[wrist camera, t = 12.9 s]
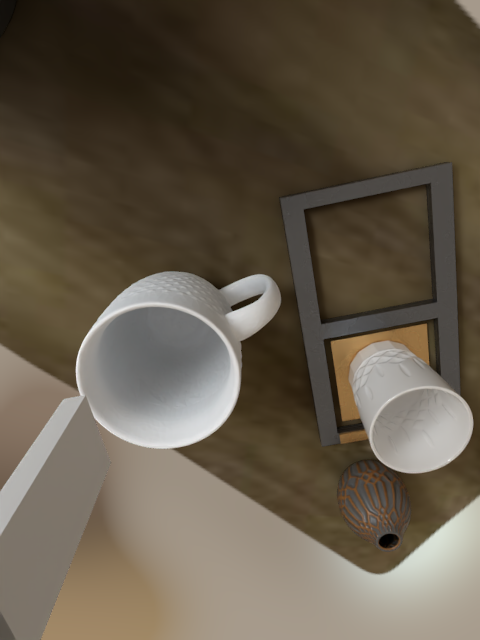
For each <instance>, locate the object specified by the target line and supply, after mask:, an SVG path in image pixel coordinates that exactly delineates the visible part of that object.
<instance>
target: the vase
mask: <svg viewBox="0 0 480 640" xmlns="http://www.w3.org/2000/svg"><path fill="white" fill-rule="evenodd" d="M337 498H338V504H339V508H340V511H341V514H342V516H343V518H344V520H345V522H346V523H347V525H348V526H349V527H350V529H351V530H352V531H353V532H354V533H355V534H356V535H358V536H359V537H361V538H362V539H364V540H366V541H368V542H370V543H373V544H374V545H375V546H376V547H377V548H378V549H380V550H382V551H386V552H389V551H394V550H396V549H398V548H399V547H400V546H401V544H402V541H403V534H404V533H405V531H406V529H407V527H408V525H409V522H410V518H411V502H410V497H409V494H408V491H407V489H406V487H405V485H404V483H403V481H402V480H401V478H400V477H399V476H398V475H397V473H396V472H395V471H394V470H392V469H391V468H389V467H388V466H386V465H385V464H383V463H381V462H378V461H374V460H363V461H359V462H356V463H354V464H352V465H351V466H349V467H348V468H347V469H346V470H345V471H344V473H343V474H342V476H341V478H340V480H339V483H338V489H337Z"/></svg>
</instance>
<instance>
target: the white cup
mask: <svg viewBox="0 0 480 640" xmlns="http://www.w3.org/2000/svg"><path fill="white" fill-rule="evenodd" d="M348 380H349V382H350V385H351V387H352V390H353V394H354V400H355V403H356V406H357V409H358V412H359V415H360V418H361V421H362V423H363V426H364V429H365V431H366V434H367V437H368V440H369V442H370V445H371V448H372V450H373V452H374V454H375V455H376V457H377V458H378V459H379V460H380V461H381V462H382V463H383V464H385V465H386V466H388V467H389V468H391V469H394V470H396V471H400V472H404V473H424V472H429V471H433V470H436V469H438V468H441V467H443V466H445V465H447V464H448V463H450V462H451V461H453V460H454V459H455V458H456V457H457V456H458V455H459V454H460V453H461V452H462V451H463V450H464V449H465V447H466V446H467V444H468V442H469V440H470V438H471V435H472V431H473V416H472V412H471V410H470V408H469V406H468V404H467V403H466V401H465V400H464V399H463V398H462V397H461V396H460V395H459V394H458V393H457V392H456V391H455V390H454V389H453V388H452V387H451V386H450V385H449V384H448V383H447V382H446V381H445V380H444V379H443V378H442V377H441V376H440V375H439V374H438V373H436V372H435V371H434V370H433V369H432V368H431V367H430V366H429V365H428V364H426V363H425V362H424V361H423V360H422V359H421V358H419V357H417V356H416V355H415V354H414V353H413V352H412V351H411V350H410V349H409V348H407V347H406V346H405V345H404V344H401V343H397V342H393V341H389V340H387V341H381V342H376V343H371V344H370V345H368V346H367V347H365V348H364V349H362V350H361V351H359V352H358V353H357V355H356V356H355V358H354V359H353V361H352V362H351V364H350V369H349V377H348Z"/></svg>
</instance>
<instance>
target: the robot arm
mask: <svg viewBox="0 0 480 640" xmlns="http://www.w3.org/2000/svg"><path fill="white" fill-rule="evenodd" d="M15 4H16V0H0V37H1V35H2V34H3V32H4V31H5V29H6V27H7V25H8V23H9V21H10V19H11V16H12V14H13V11H14V8H15ZM110 464H111V461H110V459H109V456H108V453H107V451H106V448H105V445H104V443H103V440H102V437H101V435H100V432H99V430H98V427H97V424H96V421H95V419H94V416H93V413H92V411H91V408H90V405H89V402H88V400H87V397H86V395H83V396H78V397H73V398H68V399H63V401H62V402H61V404H60V405H59V406H58V408H57V410H56V411H55V412H54V414H53V415H52V417H51V418H50V420H49V421H48V423H47V424H46V426H45V427H44V429H43V430H42V431H41V433H40V434H39V436H38V437H37V439H36V440H35V441H34V443H33V444H32V446H31V447H30V449H29V450H28V452H27V453H26V455H25V456H24V458H23V459H22V460H21V462H20V463H19V465H18V466H17V468H16V469H15V471H14V472H13V474H12V475H11V477H10V478H9V480H8V481H7V482H6V484H5V485H4V487H3V488H2V490H1V491H0V640H41V637H42V635H43V632H44V630H45V627H46V625H47V622H48V620H49V617H50V615H51V612H52V609H53V607H54V605H55V602H56V600H57V597H58V594H59V592H60V590H61V587H62V584H63V582H64V579H65V577H66V574H67V572H68V569H69V567H70V564H71V562H72V559H73V557H74V554H75V552H76V549H77V547H78V544H79V541H80V539H81V537H82V534H83V532H84V529H85V527H86V524H87V521H88V519H89V517H90V514H91V512H92V509H93V507H94V504H95V502H96V499H97V496H98V494H99V491H100V489H101V486H102V484H103V481H104V479H105V476H106V474H107V471H108V469H109V466H110Z"/></svg>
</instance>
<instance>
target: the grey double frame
mask: <svg viewBox="0 0 480 640" xmlns="http://www.w3.org/2000/svg"><path fill="white" fill-rule="evenodd" d="M423 184H426V188H427V206H428V223H429V241H430V259H431V277H432V294H433V299H429V300H424V301H419V302H414V303H409V304H403V305H398V306H393V307H388V308H382V309H377V310H372V311H367V312H361V313H356V314H351V315H346V316H341V317H335V318H330V319H325V320H320V314H319V308H318V301H317V295H316V288H315V282H314V275H313V268H312V262H311V255H310V249H309V242H308V236H307V229H306V222H305V216H304V209H308V208H312V207H317V206H322V205H327V204H332V203H336V202H341V201H346V200H351V199H356V198H360V197H365V196H370V195H375V194H380V193H384V192H389V191H394V190H399V189H404V188H408V187H413V186H418V185H423ZM279 199H280V205H281V211H282V217H283V223H284V229H285V235H286V241H287V247H288V253H289V258H290V264H291V270H292V276H293V282H294V288H295V294H296V300H297V306H298V312H299V317H300V323H301V329H302V335H303V341H304V347H305V353H306V359H307V365H308V371H309V377H310V382H311V388H312V394H313V400H314V406H315V412H316V418H317V424H318V430H319V436H320V441H321V445H322V447H323V446H328V445H334V444H340V443H341V444H344V443H350V442H355V441H361V440H367V439H368V437H367V434H366V431H365V429H364V426H363V423H359V424H354V425H348V426H342V427H337V426H336V420H335V413H334V406H333V400H332V393H331V387H330V380H329V374H328V367H327V360H326V354H325V347H324V341H323V339H328V338H333V337H338V336H344V335H349V334H354V333H360V332H365V331H370V330H375V329H381V328H386V327H391V326H397V325H402V324H407V323H413V322H418V321H423V320H429V319H434V330H435V348H436V365H437V373H438V374H439V375H440V376H441V377H442V378H443V379H444V380H445V381H446V382H447V383H448V384H449V385H450V386H451V387H452V388H453V389H454V390H455V391H456V392H457V393H458V394H459V395H460V368H459V340H458V313H457V285H456V258H455V230H454V203H453V175H452V162H444V163H439V164H434V165H430V166H425V167H420V168H416V169H411V170H406V171H401V172H397V173H392V174H387V175H382V176H378V177H373V178H368V179H363V180H359V181H354V182H349V183H344V184H340V185H335V186H330V187H325V188H321V189H316V190H311V191H306V192H302V193H297V194H292V195H287V196H283V197H279ZM387 340H389V341H393V342H397V343H401V344H404V345H405V346H406V347H407V348H409V349H410V350H411V351H412V352H413V353H414V354H415V355H416V356H417V357H419V358H421V359H422V360H423V361H424V362H425V363H426V364H428V365H429V351H428V335H427V323H422V324H417V325H412V326H406V327H401V328H396V329H390V330H385V331H380V332H374V333H369V334H364V335H358V336H353V337H348V338H343V339H337V340H332V341H330V342H331V349H332V355H333V362H334V369H335V376H336V383H337V390H338V396H339V403H340V410H341V417H342V421H347V420H353V419H359V418H360V415H359V412H358V409H357V406H356V403H355V400H354V394H353V390H352V387H351V385H350V382H349V380H348V377H349V369H350V364H351V362H352V361H353V359H354V358H355V356H356V355H357V353H358V352H359V351H361V350H362V349H364V348H365V347H367V346H368V345H370V344H371V343H376V342H381V341H387Z"/></svg>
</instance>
